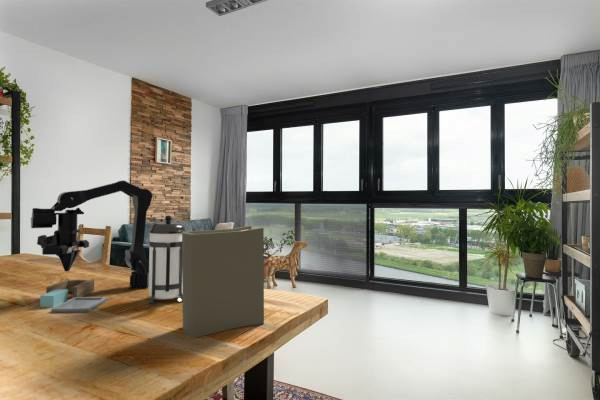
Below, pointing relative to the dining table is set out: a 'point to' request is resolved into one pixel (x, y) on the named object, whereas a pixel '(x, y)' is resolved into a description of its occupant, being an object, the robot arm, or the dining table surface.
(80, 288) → the bay
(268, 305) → the dining table surface
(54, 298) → the block
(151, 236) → the coffee press
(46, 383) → the dining table surface
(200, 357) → the dining table surface
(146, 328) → the dining table surface
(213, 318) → the book
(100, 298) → the tray
